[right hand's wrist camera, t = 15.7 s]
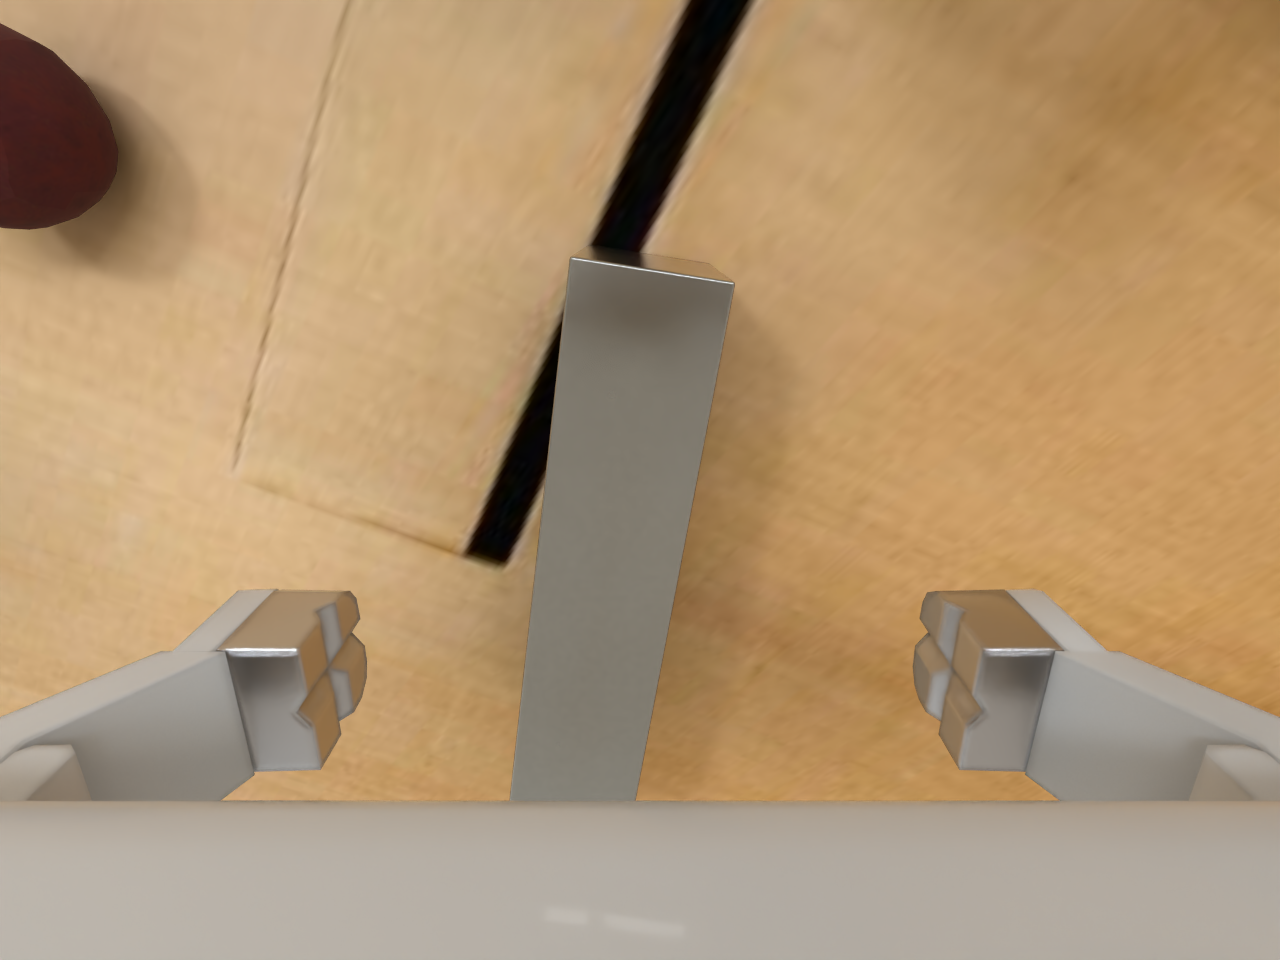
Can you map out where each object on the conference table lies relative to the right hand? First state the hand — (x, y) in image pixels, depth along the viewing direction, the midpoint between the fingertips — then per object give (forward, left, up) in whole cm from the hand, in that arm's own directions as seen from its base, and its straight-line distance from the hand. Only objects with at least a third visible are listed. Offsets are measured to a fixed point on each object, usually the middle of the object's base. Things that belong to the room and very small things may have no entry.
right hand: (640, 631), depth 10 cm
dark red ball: (+25, -11, -26) cm, 38 cm away
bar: (+2, +9, -26) cm, 28 cm away
